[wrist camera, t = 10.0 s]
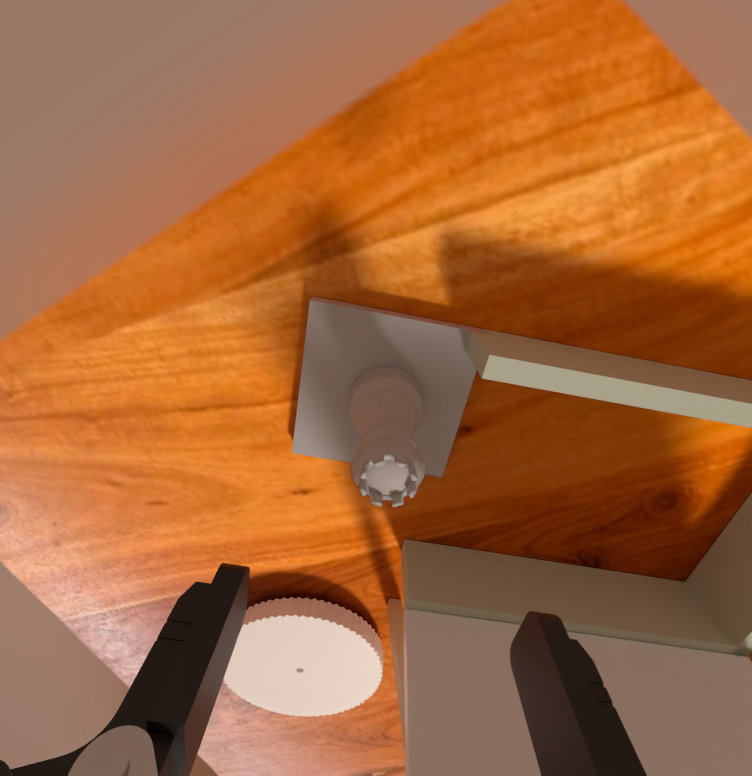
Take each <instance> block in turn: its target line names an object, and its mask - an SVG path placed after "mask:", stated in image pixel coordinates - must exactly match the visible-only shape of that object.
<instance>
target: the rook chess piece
mask: <svg viewBox="0 0 752 776" xmlns="http://www.w3.org/2000/svg"><path fill="white" fill-rule="evenodd" d="M423 413H424V395H423V393H422V390H421V387H420V384H419V383H418V382H417V381H416V380H415V379H414V378H413V377H412V376H411V375H410V374H409V373H406V372H404V371H402V370H399V369H397V368H384V367H380V368H377V369H374V370H371V371H368V372H366V373H365V374H363V375H362V376H361V377H360V378H359V379H358V380H357V381H355V383H354V385H353V387H352V389H351V391H350V393H349V415H350V418H351V420H352V422H353V424H354V426H355V428H356V430H357V431H358V432H360V434H362V437H361V439H360V441H359V443H358V450H357V451H356V453H355V455H354V457H353V459H352V461H351V476H352V478H353V480H354V482H355V484H356V486H358V488H359V490H360V492H361V495H362V497H363V496H365V495H367V494H368V495H370V496H371V504H374V505H376V506H379V507H381V506H382V503H383V500H392V507H397V506H400V505H404V502H403V497H405V496H406V495H408V496H409V497H411V498H413V497H414V495H415V494H416V492H417V490H418V486H419V485H420V483H421V481H422V480H423V478H424V475H425V466H426V465H425V462H424V459H423V457H422V454H421V453H420V452H419V451H418V450H417V444H416V441H415V439H414V437H413V436H412V434H413V433H414V432H415V431H416V429H417V428H418V426H419V424H420V422H421V421H422V419H423Z"/></svg>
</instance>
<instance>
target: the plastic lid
mask: <svg viewBox="0 0 752 776" xmlns="http://www.w3.org/2000/svg"><path fill="white" fill-rule="evenodd" d="M362 619H363V618H362V617H361V616H360V617H358V616H357V614H356V613H352V612H351V610H346V609H345V607H339V606H338V604H334V605H333V604H331V602H324V600H320V601H318V600H317V599H314V598H313V599H312V600H311V599H309V598H305V599H302V598H301V597H297V598H293V597H290V598H289V599H286V598H282V599H278V598H277V599H275V600H273V601H272V600H268V601H267V602H264V601H263V602H261V604H255V605H254V607H252V606H250V607H249V608H248V610H247V609H246V613H245V617H244V621H243V624H242V627H241V630H240V633H239V636H238V639H237V641H236V644H235V647H234V650H233V653H232V656H231V659H230V661H229V664H228V667H227V670H226V673H225V676H224V679H223V680H225V681H224V683H225V684H227V685H228V686H227V687H228V688H231V691H232V692H236V693H235V694H236V695H239V696H240V698H242V699H245V701H247V702H251V704H252V705H254V704H255V705H257V707H262V708H263V709H265V710H266V709H268V710H269V711H271V712H272V711H274V712H275V713H282V714H284V715H285V714H288V715H290V716H292V715H295V716H302V717H305V716H309V717H312V716H316V717H317V716H319V715H322V716H325V715H327V714H328V715H332V713H335V714H337V713H338V712H344V710H350V708H355V706H356V705H358V706H359V705H360V703H364V702H365V700H368V699H369V696H372V695H373V693H375V692H376V689H378V685H380V681H382V676H383V647H382V643H381V642H380V638H378V634H377V633H375V630H374V629H372V628H371V625H370V624H369V625H368V624H367V621H366V620H362Z"/></svg>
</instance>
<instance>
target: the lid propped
mask: <svg viewBox="0 0 752 776" xmlns="http://www.w3.org/2000/svg"><path fill="white" fill-rule="evenodd" d="M520 626H521V625H518V624H511V623H504V622H497V621H490V620H482V619H475V618H468V617H461V616H454V615H447V614H440V613H433V612H426V611H419V610H411V609H406V610H405V612H404V614H403V628H404V706H405V776H541V773H540V769H539V766H538V762H537V758H536V755H535V751H534V748H533V744H532V740H531V737H530V733H529V730H528V726H527V722H526V719H525V715H524V712H523V708H522V704H521V701H520V697H519V694H518V690H517V686H516V683H515V679H514V676H513V672H512V668H511V663H510V648H511V643H512V641H513V639H514V637H515V635H516V633H517V631H518V630H519V628H520ZM567 633H568V636H569V638H570V639H576V640H578V642H579V643H580V644H581V646H582V647H583V648H584V649H585V651H586V652H587V653H588V654H589V656H590V657H591V658H592V660H593V661H594V663H595V665H596V668H597V670H598V672H599V674H600V676H601V678H602V680H603V683H604V684H603V685H604V687H605V688H606V689H607V691H608V693H609V695H610V698H611V700H612V705H613V707H615V708H616V710H617V713H618V715H619V717H620V719H621V721H622V723H623V725H624V728H625V730H626V732H627V734H628V736H629V738H630V740H631V743H632V745H633V747H634V749H635V751H636V753H637V755H638V758H639V760H640V762H641V764H642V766H643V768H644V770H645V773H646V775H647V776H752V662H751V660H750V659H749V657H745V656H738V655H731V654H724V653H717V652H710V651H703V650H696V649H689V648H681V647H674V646H667V645H660V644H653V643H646V642H639V641H632V640H625V639H618V638H610V637H603V636H596V635H589V634H582V633H575V632H568V631H567Z"/></svg>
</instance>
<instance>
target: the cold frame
mask: <svg viewBox="0 0 752 776" xmlns="http://www.w3.org/2000/svg"><path fill="white" fill-rule="evenodd" d="M484 330H485V331H486V332H487V333H488V334H486V333H481V332H475V331H471V332H470V336H469V339H468V342H467V346H466V349H465V352H466V353H467V355H468V357H469V358H470V360H471V362H472V363H473V365H474V367H475V368H476V370H477V372H478V373H479V375H480V376H481V378H482V379H488V380H493V381H499V382H504V383H510V384H515V385H520V386H526V387H531V388H537V389H542V390H548V391H553V392H559V393H564V394H570V395H575V396H581V397H586V398H592V399H597V400H603V401H608V402H613V403H619V404H624V405H630V406H635V407H641V408H646V409H652V410H657V411H663V412H668V413H674V414H679V415H685V416H690V417H695V418H701V419H706V420H712V421H717V422H723V423H728V424H734V425H739V426H745V427H750V428H752V380H747V379H742V378H737V377H732V376H726V375H721V374H716V373H711V372H705V371H700V370H695V369H690V368H685V367H679V366H674V365H669V364H664V363H659V362H653V361H648V360H643V359H638V358H632V357H627V356H622V355H617V354H612V353H606V352H601V351H596V350H591V349H585V348H580V347H575V346H570V345H565V344H559V343H554V342H549V341H544V340H538V339H533V338H528V337H523V336H518V335H512V334H507V333H502V332H497V331H492V330H486V329H484ZM401 557H402V574H403V591H404V609H405V610H406V609H411V610H419V611H426V612H433V613H440V614H447V615H454V616H461V617H468V618H475V619H482V620H490V621H497V622H504V623H511V624H518V625H521V624H522V622H523V620H524V618H525V616H526V614H527V613H528V612H529V611H534V612H541V613H547V614H554V615H557V616H558V617H559V618H560V619H561V620H562V622H563V624H564V627H565V629H566V631H568V632H575V633H582V634H589V635H596V636H603V637H610V638H618V639H625V640H632V641H639V642H646V643H653V644H660V645H667V646H674V647H681V648H689V649H696V650H703V651H710V652H717V653H724V654H731V655H738V656H745V657H747V656H748V655H749V654H750V653H751V652H752V493H751V494H750V495H749V497H748V498H747V500H746V501H745V502H744V504H743V505H742V506H741V508H740V509H739V510H738V512H737V513H736V514H735V516H734V517H733V518H732V520H731V521H730V522H729V524H728V525H727V526H726V528H725V529H724V530H723V532H722V533H721V534H720V536H719V537H718V538H717V540H716V541H715V542H714V544H713V545H712V546H711V548H710V549H709V550H708V552H707V553H706V554H705V556H704V557H703V558H702V560H701V561H700V562H699V564H698V565H697V566H696V568H695V569H694V571H693V572H692V573H691V575H690V576H689V577H688V579H687V580H686V581H685V582H682V581H676V580H669V579H663V578H656V577H650V576H643V575H636V574H630V573H623V572H617V571H610V570H604V569H597V568H591V567H584V566H578V565H571V564H564V563H558V562H551V561H545V560H538V559H532V558H525V557H519V556H512V555H506V554H499V553H492V552H486V551H479V550H473V549H466V548H460V547H453V546H447V545H440V544H433V543H427V542H420V541H414V540H407V539H404V542H403V546H402V549H401ZM387 612H388V620H389V628H390V636H391V644H392V652H393V661H394V669H395V677H396V685H397V693H398V701H399V709H400V717H401V726H402V734H403V742H404V750H405V706H404V628H403V614H404V612H403V607H402V601H401V600H399V599H392V598H389V601H388V606H387Z"/></svg>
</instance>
